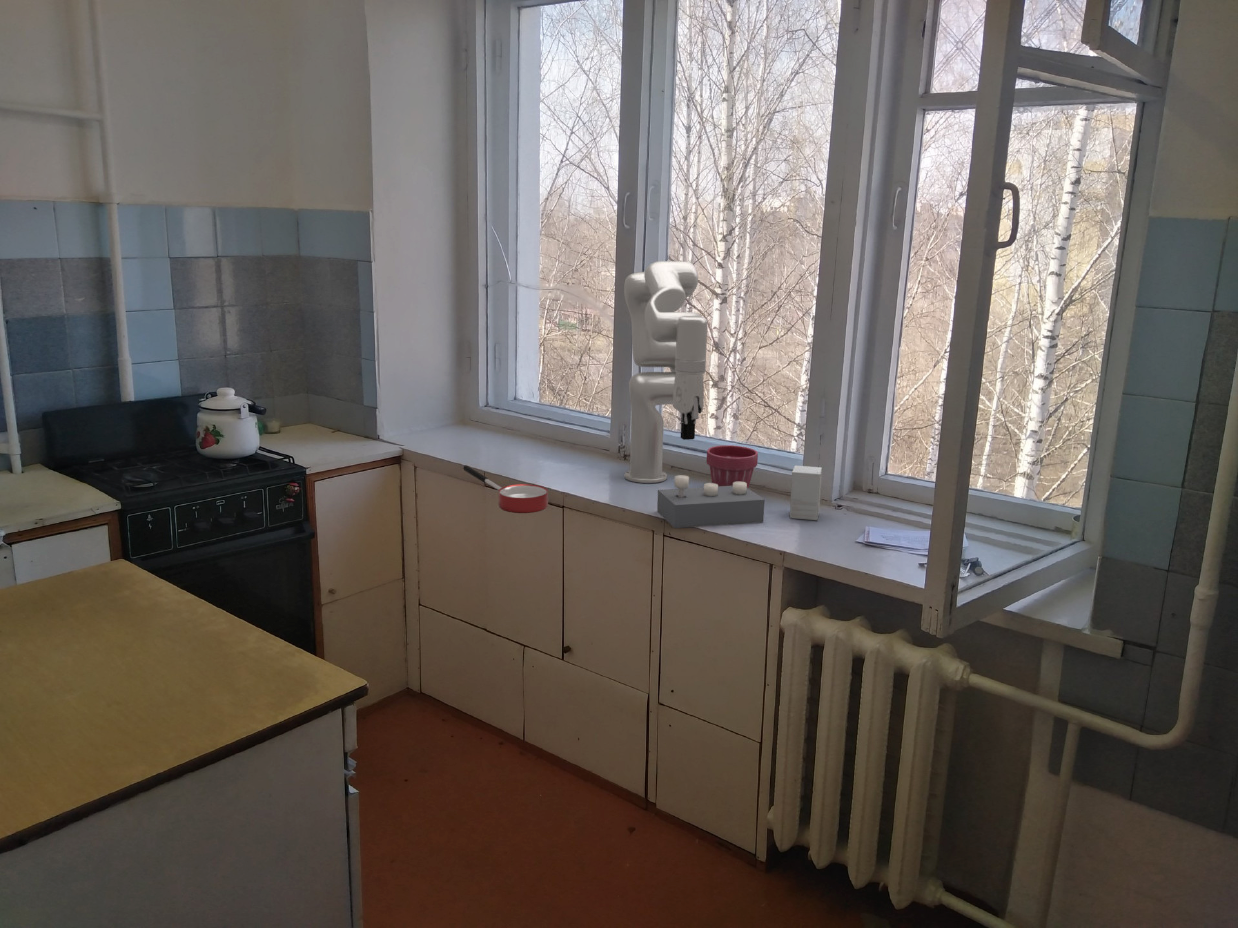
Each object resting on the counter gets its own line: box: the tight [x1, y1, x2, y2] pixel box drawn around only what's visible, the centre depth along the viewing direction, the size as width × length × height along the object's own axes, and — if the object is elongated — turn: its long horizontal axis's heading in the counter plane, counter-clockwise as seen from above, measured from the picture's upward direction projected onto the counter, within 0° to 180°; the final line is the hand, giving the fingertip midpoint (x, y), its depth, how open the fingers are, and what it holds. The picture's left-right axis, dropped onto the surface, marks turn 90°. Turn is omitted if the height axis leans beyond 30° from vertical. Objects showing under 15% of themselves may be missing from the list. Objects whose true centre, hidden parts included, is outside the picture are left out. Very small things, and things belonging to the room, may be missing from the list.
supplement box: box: [789, 465, 823, 521], centre depth 249 cm, size 7×7×13 cm
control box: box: [656, 486, 765, 529], centre depth 247 cm, size 14×24×6 cm, turn 106°
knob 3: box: [732, 481, 747, 495], centre depth 248 cm, size 4×4×7 cm
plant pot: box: [705, 444, 759, 489], centre depth 266 cm, size 14×14×13 cm
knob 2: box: [703, 482, 718, 496], centre depth 246 cm, size 4×4×7 cm
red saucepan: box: [463, 465, 549, 514], centre depth 258 cm, size 32×13×6 cm, turn 51°
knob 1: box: [674, 474, 690, 498], centre depth 243 cm, size 4×4×7 cm
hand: (687, 438), depth 240 cm, fingers closed
